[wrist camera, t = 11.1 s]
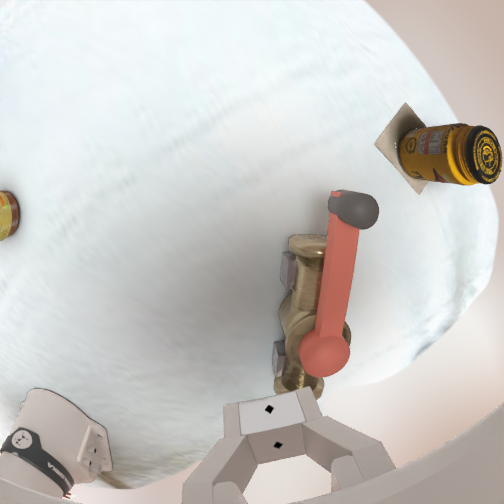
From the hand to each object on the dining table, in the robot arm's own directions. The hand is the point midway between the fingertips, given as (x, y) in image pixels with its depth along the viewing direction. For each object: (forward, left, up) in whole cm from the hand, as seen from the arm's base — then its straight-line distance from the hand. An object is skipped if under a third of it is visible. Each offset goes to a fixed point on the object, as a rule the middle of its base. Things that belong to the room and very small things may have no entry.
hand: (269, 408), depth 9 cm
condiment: (+13, -19, -22) cm, 32 cm away
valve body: (-7, -7, -22) cm, 24 cm away
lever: (-1, -7, -15) cm, 16 cm away
